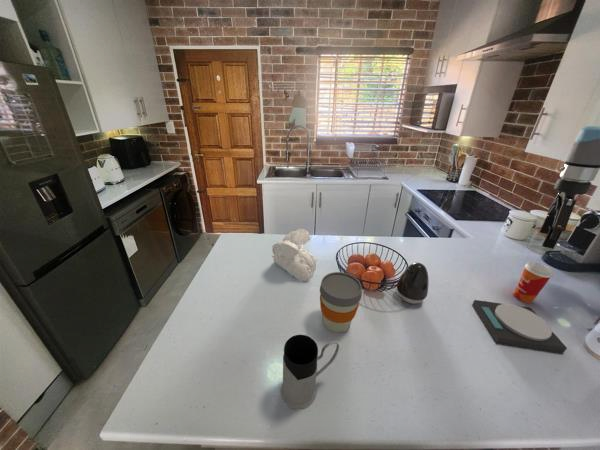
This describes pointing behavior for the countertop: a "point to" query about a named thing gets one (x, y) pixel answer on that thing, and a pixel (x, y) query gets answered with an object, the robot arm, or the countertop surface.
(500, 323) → the scale
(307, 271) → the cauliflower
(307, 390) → the glass holder
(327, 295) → the reusable coffee cup
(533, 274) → the paper cup
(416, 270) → the dark egg shaped ornament
